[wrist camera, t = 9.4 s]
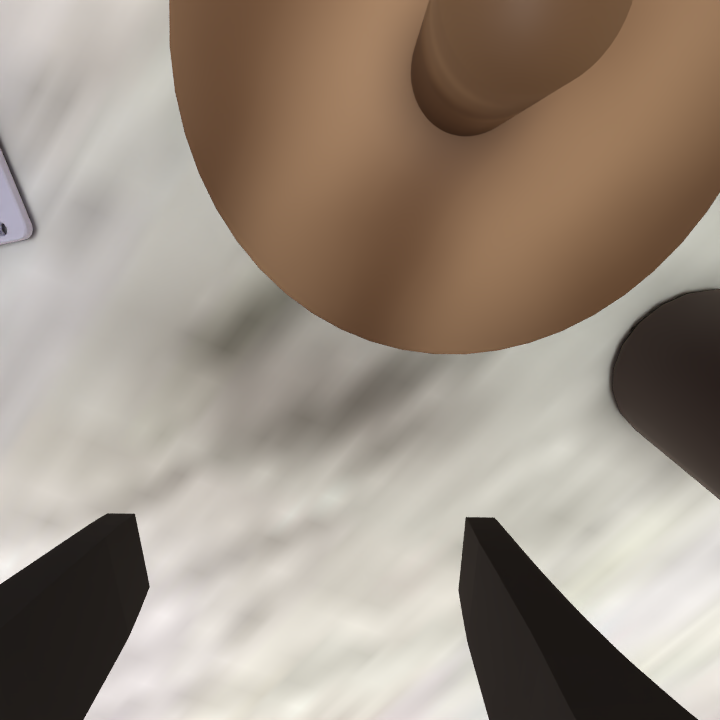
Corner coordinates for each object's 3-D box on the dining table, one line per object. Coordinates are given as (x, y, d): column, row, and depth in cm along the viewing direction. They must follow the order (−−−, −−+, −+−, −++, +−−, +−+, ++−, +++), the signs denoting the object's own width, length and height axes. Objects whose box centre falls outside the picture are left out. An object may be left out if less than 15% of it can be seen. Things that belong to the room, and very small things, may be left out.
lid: (166, 295, 14) (51, 345, 9) (207, -431, 9) (-3, -1270, 4) (619, 385, 14) (753, 479, 9) (888, -232, 10) (1460, -711, 5)
